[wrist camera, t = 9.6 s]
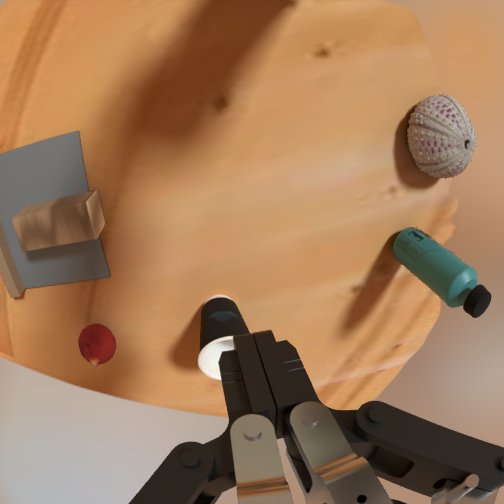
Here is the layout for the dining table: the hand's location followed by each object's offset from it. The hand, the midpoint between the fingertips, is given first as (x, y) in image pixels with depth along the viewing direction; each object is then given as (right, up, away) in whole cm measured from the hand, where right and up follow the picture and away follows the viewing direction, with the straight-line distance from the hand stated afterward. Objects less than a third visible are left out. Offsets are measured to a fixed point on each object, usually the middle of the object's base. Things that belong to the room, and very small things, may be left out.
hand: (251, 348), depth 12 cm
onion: (-23, -8, +32) cm, 40 cm away
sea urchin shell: (+28, +22, +28) cm, 46 cm away
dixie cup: (-5, -4, +34) cm, 35 cm away
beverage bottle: (+25, +6, +36) cm, 44 cm away
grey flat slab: (-27, +8, +22) cm, 36 cm away
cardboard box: (-18, +8, +21) cm, 29 cm away
